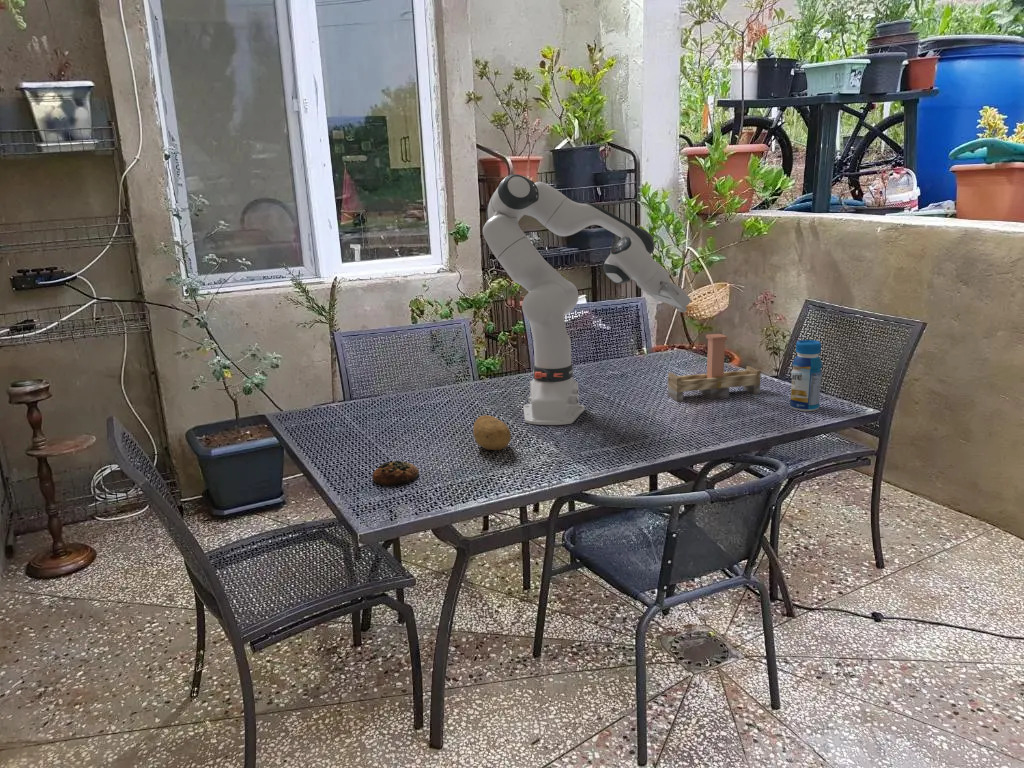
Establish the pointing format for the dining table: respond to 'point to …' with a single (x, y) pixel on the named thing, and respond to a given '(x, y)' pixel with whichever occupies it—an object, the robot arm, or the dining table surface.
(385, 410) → the dining table surface
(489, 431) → the potato
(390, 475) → the bread roll
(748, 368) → the beam
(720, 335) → the terracotta square pillar
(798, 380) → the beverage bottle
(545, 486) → the dining table surface
